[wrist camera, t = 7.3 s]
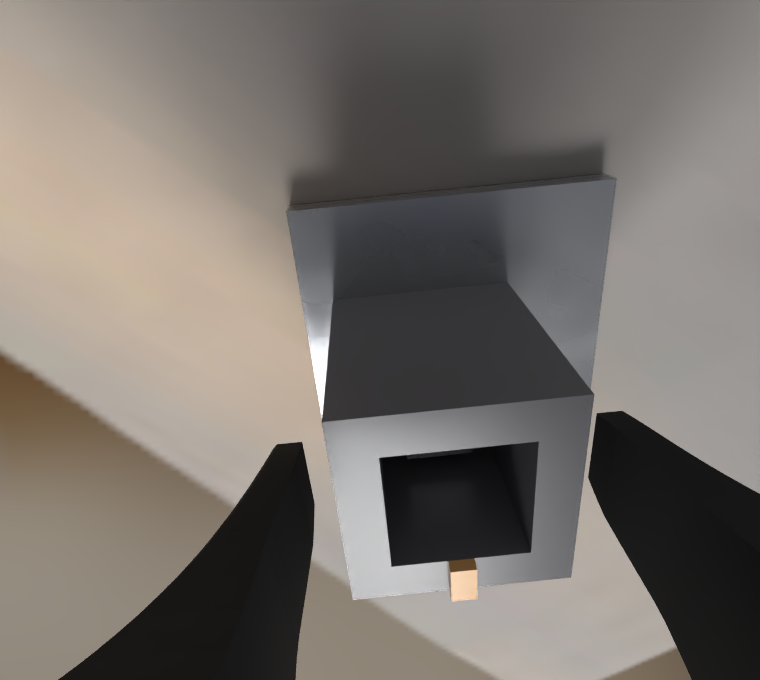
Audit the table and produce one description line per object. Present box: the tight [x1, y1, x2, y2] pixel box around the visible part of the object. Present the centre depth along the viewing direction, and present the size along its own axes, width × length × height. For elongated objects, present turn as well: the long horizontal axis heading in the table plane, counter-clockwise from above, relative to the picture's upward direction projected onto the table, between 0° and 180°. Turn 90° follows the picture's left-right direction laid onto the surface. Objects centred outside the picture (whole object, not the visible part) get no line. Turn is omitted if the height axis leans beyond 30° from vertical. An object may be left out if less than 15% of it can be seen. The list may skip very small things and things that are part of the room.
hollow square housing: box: [322, 282, 594, 601], centre depth 13 cm, size 5×5×6 cm
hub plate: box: [286, 174, 616, 415], centre depth 16 cm, size 9×8×1 cm
